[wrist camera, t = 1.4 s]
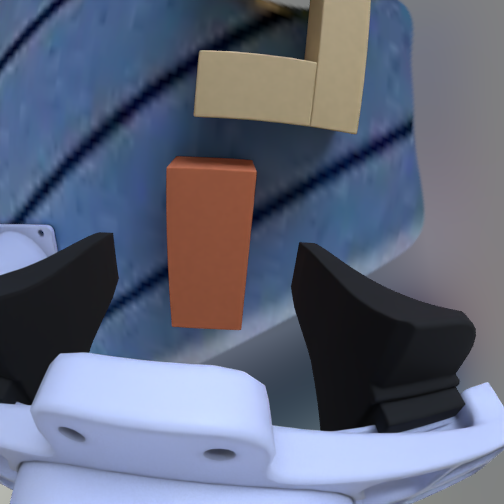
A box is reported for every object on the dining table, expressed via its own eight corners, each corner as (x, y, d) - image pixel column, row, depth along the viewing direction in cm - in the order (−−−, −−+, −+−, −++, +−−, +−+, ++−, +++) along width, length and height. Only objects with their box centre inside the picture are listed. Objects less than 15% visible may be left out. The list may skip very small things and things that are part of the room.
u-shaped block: (199, 114, 16) (193, 116, 13) (220, -63, 10) (220, -86, 8) (337, 128, 17) (357, 134, 14) (352, -42, 11) (372, -59, 9)
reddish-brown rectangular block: (239, 301, 22) (241, 330, 19) (177, 299, 21) (171, 327, 19) (252, 160, 17) (256, 171, 15) (176, 156, 17) (166, 167, 14)
